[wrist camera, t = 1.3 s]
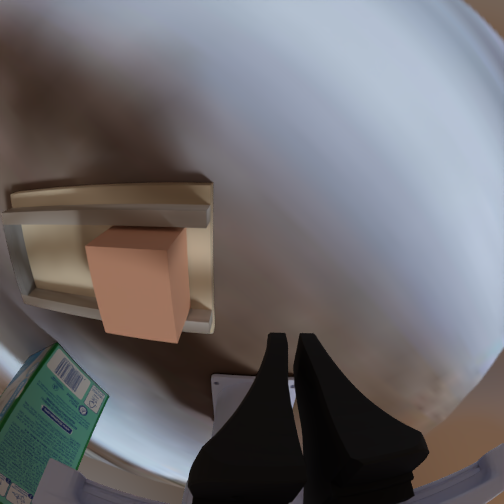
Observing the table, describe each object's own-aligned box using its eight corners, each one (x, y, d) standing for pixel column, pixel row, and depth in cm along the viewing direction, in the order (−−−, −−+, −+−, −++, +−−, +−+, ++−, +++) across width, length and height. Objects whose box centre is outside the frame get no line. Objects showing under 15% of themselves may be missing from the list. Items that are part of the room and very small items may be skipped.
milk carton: (74, 402, 29) (15, 538, 6) (29, 356, 26) (-52, 490, 2) (110, 396, 27) (47, 567, 4) (57, 341, 24) (-43, 516, 1)
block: (190, 306, 19) (177, 343, 16) (127, 300, 19) (105, 332, 16) (186, 225, 17) (167, 250, 13) (116, 223, 17) (84, 245, 13)
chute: (214, 325, 21) (210, 346, 19) (41, 300, 22) (28, 314, 19) (213, 182, 17) (206, 190, 15) (17, 191, 17) (-2, 199, 15)
